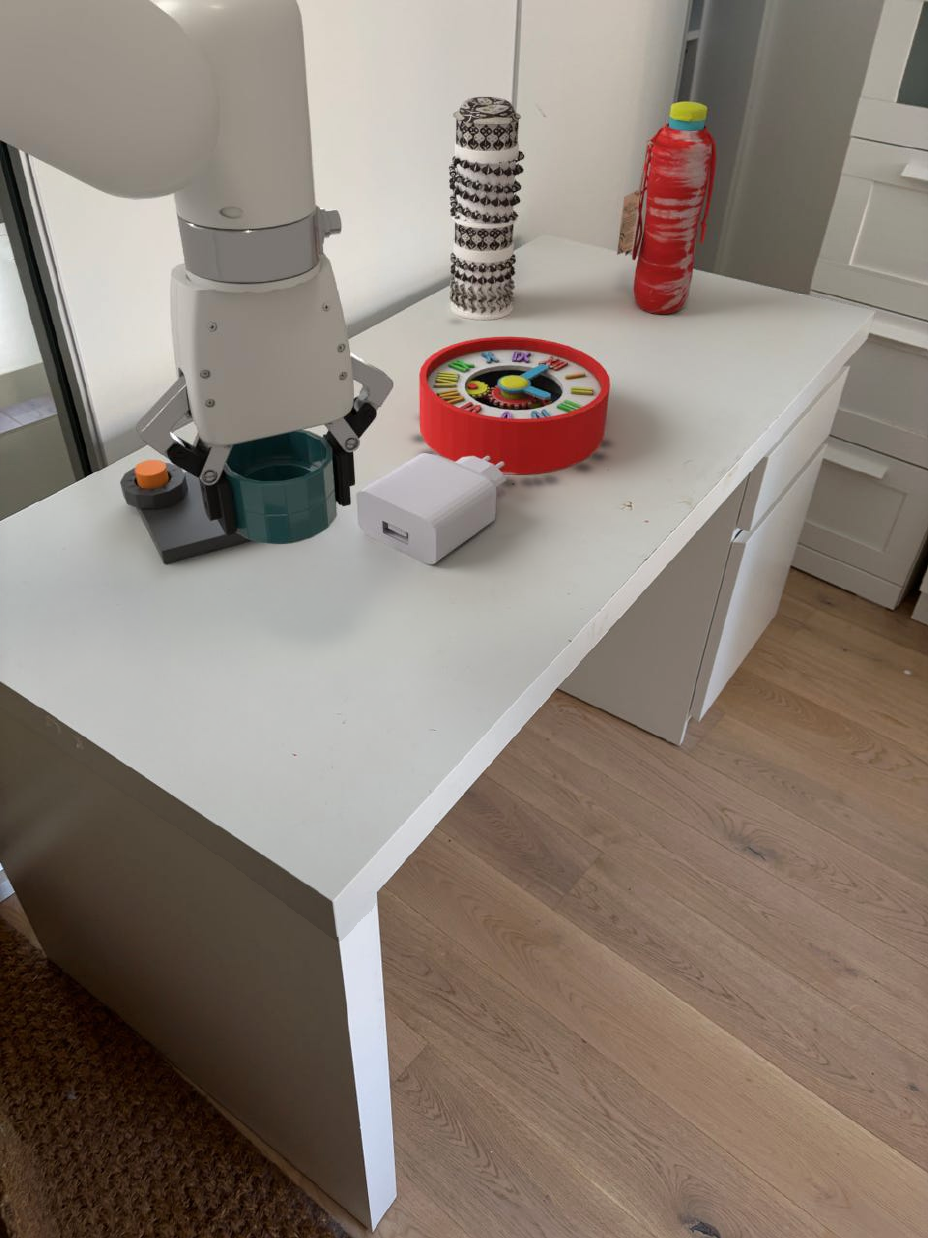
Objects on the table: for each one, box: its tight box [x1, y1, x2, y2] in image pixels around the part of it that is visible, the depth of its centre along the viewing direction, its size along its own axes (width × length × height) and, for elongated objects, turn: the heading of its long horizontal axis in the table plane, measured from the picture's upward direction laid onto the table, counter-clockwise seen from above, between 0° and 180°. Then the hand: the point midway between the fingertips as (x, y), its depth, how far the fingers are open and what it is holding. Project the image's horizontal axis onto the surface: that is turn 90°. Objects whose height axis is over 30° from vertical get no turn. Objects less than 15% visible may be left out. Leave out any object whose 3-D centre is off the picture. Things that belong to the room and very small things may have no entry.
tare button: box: [134, 459, 169, 488], centre depth 89 cm, size 3×3×2 cm
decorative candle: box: [448, 96, 525, 321], centre depth 122 cm, size 9×9×25 cm
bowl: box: [222, 429, 338, 545], centre depth 64 cm, size 7×7×5 cm
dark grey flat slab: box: [119, 462, 253, 565], centre depth 90 cm, size 15×12×3 cm
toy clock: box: [418, 336, 611, 475], centre depth 103 cm, size 20×6×20 cm
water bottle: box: [616, 101, 717, 315], centre depth 124 cm, size 12×8×25 cm, turn 62°
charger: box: [356, 452, 507, 565], centre depth 90 cm, size 5×9×15 cm
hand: (282, 508), depth 65 cm, fingers closed on bowl, 7 cm apart
